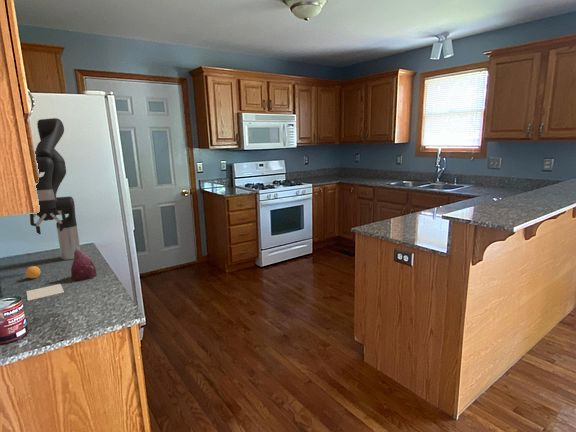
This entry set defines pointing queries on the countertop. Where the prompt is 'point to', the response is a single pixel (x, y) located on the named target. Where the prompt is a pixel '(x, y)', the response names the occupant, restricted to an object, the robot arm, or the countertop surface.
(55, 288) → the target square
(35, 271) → the ball
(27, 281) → the countertop surface
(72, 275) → the vegetable
